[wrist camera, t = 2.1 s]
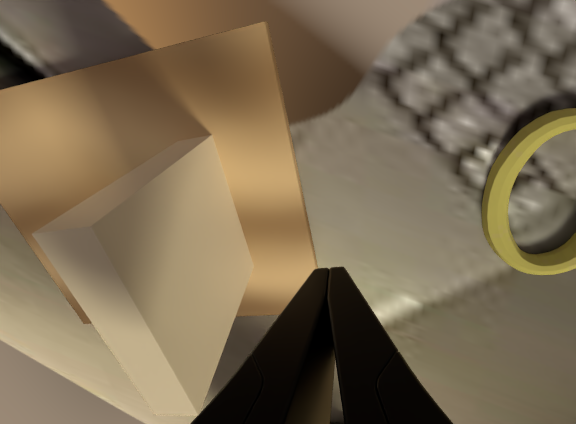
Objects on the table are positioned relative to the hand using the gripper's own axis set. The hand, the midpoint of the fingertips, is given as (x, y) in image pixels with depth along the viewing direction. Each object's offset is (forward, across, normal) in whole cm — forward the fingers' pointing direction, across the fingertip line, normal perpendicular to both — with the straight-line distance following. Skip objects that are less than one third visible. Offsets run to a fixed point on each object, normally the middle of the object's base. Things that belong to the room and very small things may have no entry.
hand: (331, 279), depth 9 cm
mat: (+6, +9, 0) cm, 11 cm away
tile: (+6, +5, 0) cm, 8 cm away
